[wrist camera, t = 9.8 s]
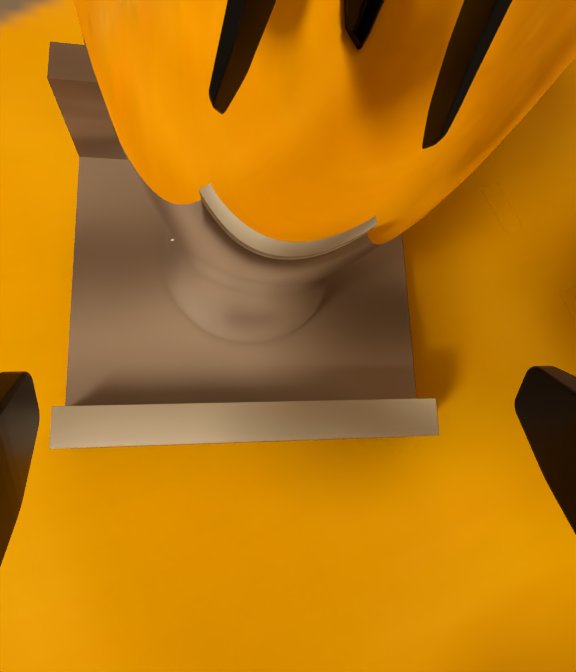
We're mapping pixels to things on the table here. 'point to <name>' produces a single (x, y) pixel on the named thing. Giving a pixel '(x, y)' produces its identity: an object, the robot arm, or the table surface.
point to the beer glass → (307, 130)
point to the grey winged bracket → (201, 346)
